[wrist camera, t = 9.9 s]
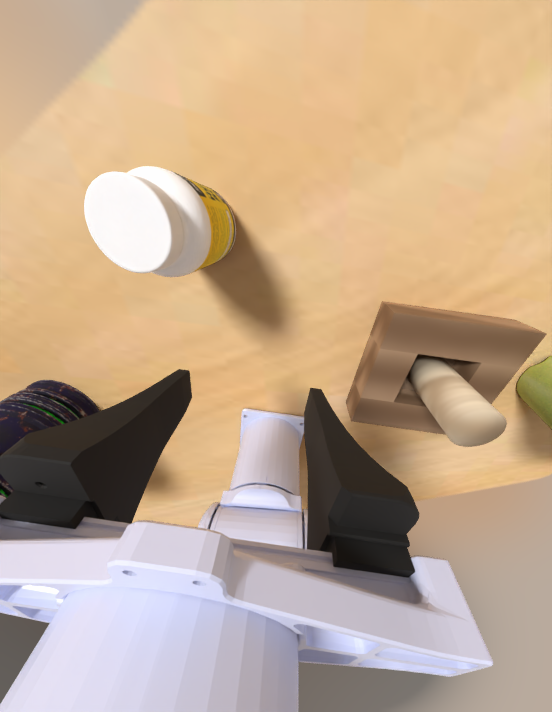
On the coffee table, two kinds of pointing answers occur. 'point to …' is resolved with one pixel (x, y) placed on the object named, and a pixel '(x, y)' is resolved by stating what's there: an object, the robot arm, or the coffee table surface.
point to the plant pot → (538, 389)
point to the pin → (455, 403)
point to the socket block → (441, 339)
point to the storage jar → (39, 413)
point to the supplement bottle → (158, 221)
